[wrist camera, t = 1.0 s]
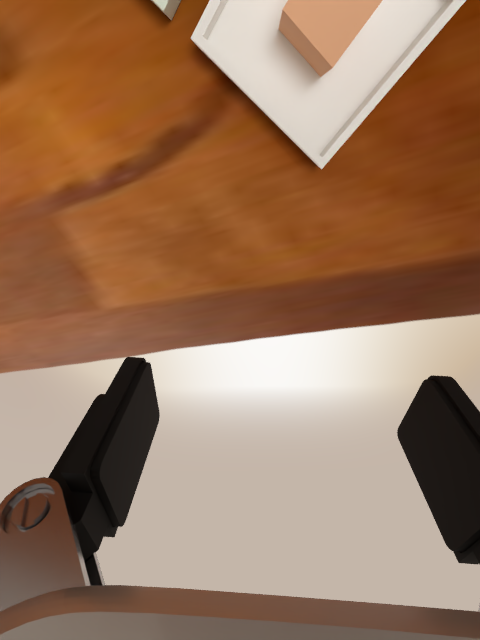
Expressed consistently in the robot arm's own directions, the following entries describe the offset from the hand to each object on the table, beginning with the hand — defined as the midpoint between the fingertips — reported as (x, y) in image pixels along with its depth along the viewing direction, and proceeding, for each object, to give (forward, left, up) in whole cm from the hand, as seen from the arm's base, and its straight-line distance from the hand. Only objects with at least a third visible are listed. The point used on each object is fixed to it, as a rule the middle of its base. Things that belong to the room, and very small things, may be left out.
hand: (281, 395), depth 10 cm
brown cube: (-14, -6, -26) cm, 31 cm away
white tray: (-14, -6, -27) cm, 31 cm away
